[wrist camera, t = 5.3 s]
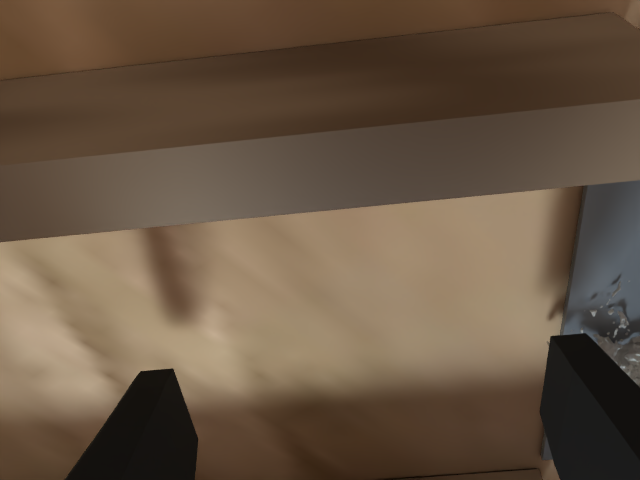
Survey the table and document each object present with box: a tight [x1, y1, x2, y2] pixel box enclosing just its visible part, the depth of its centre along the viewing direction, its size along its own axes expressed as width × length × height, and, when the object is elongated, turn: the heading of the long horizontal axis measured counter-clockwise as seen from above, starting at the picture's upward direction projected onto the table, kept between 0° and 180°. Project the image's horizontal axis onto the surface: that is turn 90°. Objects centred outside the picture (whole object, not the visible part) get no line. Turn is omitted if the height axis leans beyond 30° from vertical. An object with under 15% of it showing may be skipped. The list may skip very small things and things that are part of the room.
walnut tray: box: [0, 12, 640, 480], centre depth 12 cm, size 21×12×3 cm, turn 96°
